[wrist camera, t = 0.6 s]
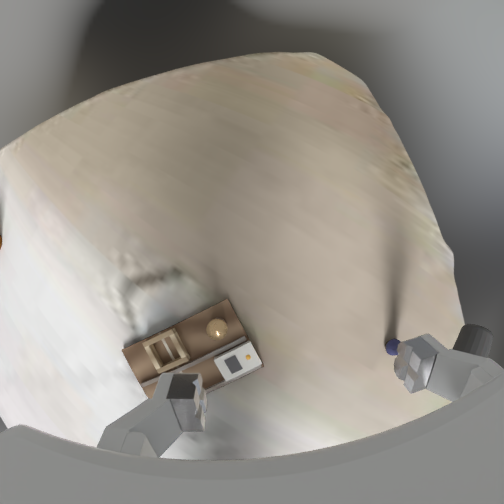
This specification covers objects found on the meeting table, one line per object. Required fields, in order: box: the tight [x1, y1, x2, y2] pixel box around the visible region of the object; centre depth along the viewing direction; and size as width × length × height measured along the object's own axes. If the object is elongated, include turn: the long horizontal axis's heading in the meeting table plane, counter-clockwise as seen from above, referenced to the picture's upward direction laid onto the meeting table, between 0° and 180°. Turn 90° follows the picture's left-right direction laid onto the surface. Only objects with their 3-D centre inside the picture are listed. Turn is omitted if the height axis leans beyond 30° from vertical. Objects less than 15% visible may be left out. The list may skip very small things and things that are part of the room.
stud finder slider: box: [214, 340, 262, 381], centre depth 50 cm, size 5×8×3 cm, turn 118°
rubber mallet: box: [386, 324, 493, 358], centre depth 42 cm, size 12×8×30 cm, turn 150°
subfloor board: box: [122, 299, 264, 399], centre depth 52 cm, size 16×26×2 cm, turn 118°
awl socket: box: [142, 328, 191, 374], centre depth 50 cm, size 7×7×3 cm
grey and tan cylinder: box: [206, 318, 228, 340], centre depth 49 cm, size 4×4×8 cm
